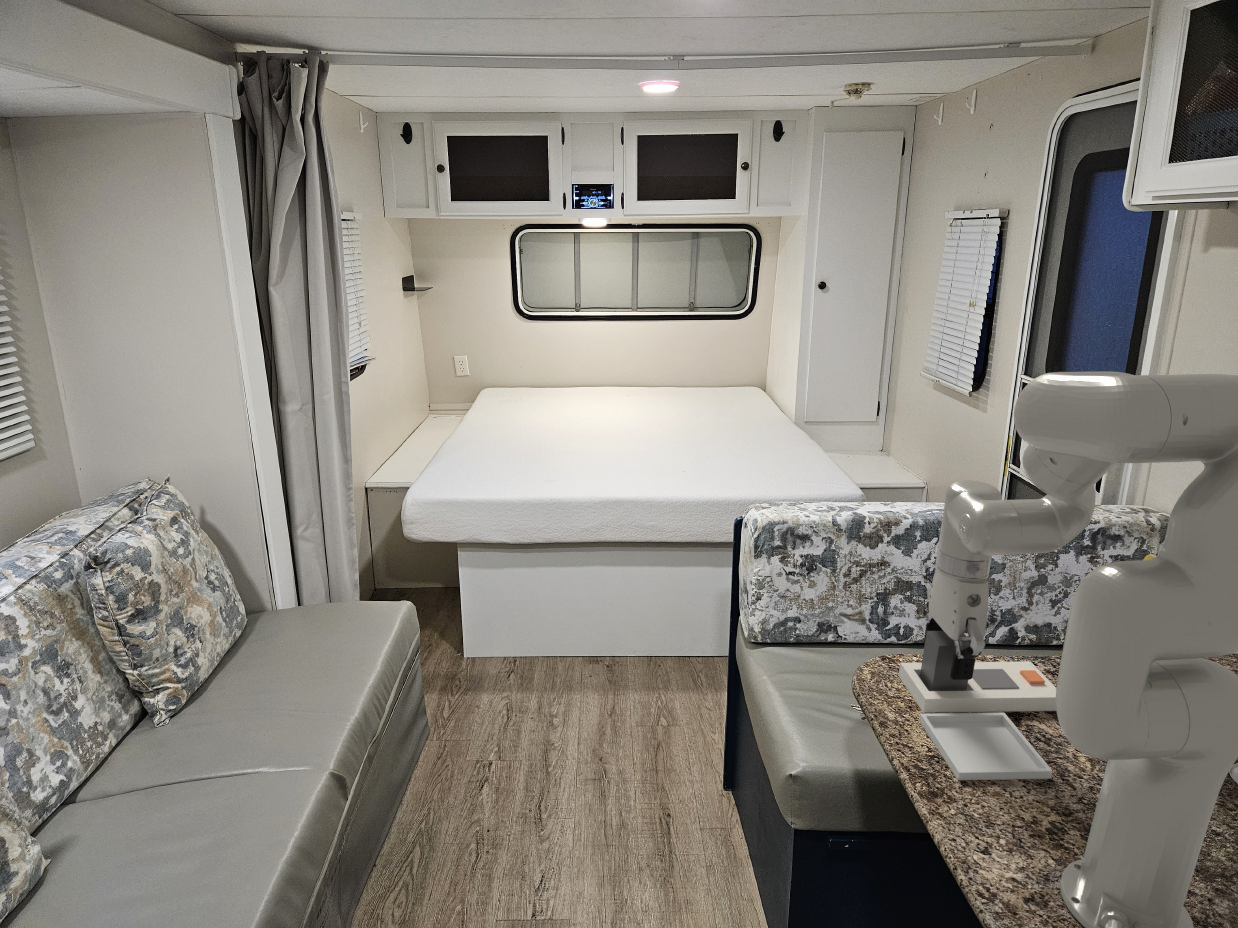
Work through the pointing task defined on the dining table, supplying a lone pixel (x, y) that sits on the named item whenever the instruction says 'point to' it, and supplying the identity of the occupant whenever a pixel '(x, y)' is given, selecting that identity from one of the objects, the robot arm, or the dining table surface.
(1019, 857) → the dining table surface
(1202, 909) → the dining table surface
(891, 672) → the dining table surface
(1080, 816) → the dining table surface
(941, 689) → the plug
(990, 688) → the power strip
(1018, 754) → the tray
